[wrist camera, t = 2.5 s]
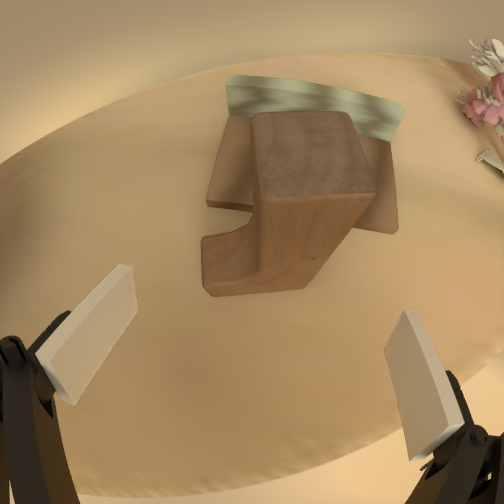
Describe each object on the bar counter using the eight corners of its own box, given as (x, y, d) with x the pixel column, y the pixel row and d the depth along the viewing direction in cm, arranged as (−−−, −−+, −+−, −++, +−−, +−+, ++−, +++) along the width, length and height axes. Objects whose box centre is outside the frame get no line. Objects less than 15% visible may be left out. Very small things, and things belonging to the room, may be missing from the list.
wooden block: (210, 297, 27) (133, 215, 10) (208, 252, 28) (146, 123, 11) (305, 288, 27) (381, 193, 10) (299, 243, 28) (350, 108, 11)
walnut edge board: (208, 206, 30) (196, 171, 23) (233, 112, 34) (229, 74, 28) (392, 234, 28) (420, 208, 22) (384, 137, 33) (401, 104, 26)
